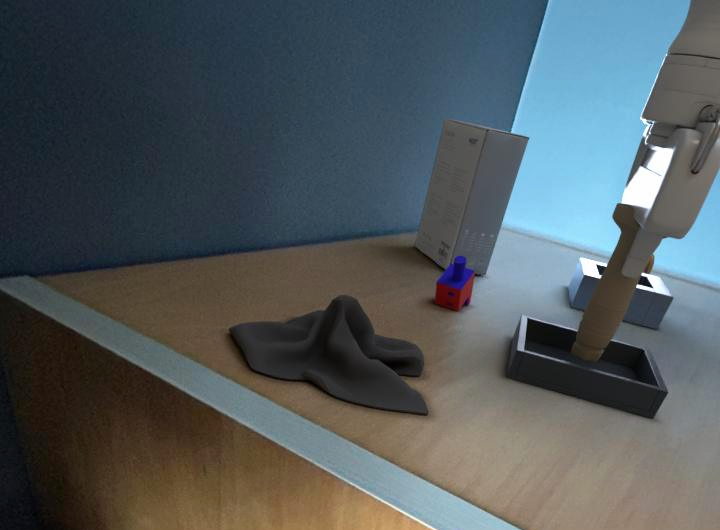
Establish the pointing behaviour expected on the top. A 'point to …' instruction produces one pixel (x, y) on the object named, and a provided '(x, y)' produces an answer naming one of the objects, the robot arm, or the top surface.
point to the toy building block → (455, 285)
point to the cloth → (337, 356)
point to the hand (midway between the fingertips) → (625, 269)
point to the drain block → (644, 304)
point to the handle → (608, 293)
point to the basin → (586, 368)
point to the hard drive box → (469, 193)
